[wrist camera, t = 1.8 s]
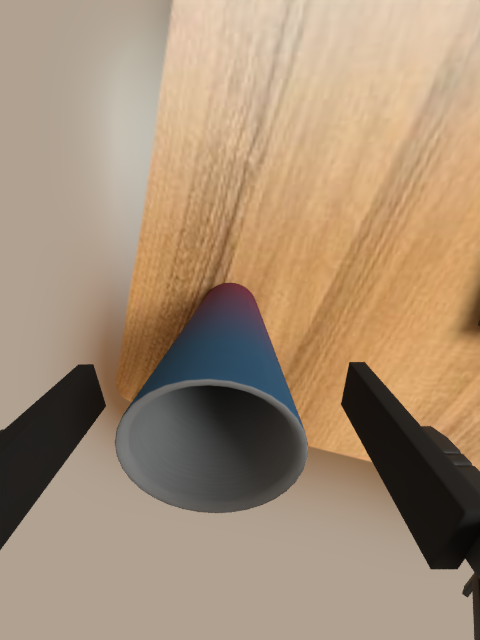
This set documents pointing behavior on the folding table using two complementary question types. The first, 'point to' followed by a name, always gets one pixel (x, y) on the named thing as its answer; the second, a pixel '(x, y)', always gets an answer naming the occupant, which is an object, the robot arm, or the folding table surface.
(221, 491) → the cup
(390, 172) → the folding table surface
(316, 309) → the folding table surface
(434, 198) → the folding table surface
